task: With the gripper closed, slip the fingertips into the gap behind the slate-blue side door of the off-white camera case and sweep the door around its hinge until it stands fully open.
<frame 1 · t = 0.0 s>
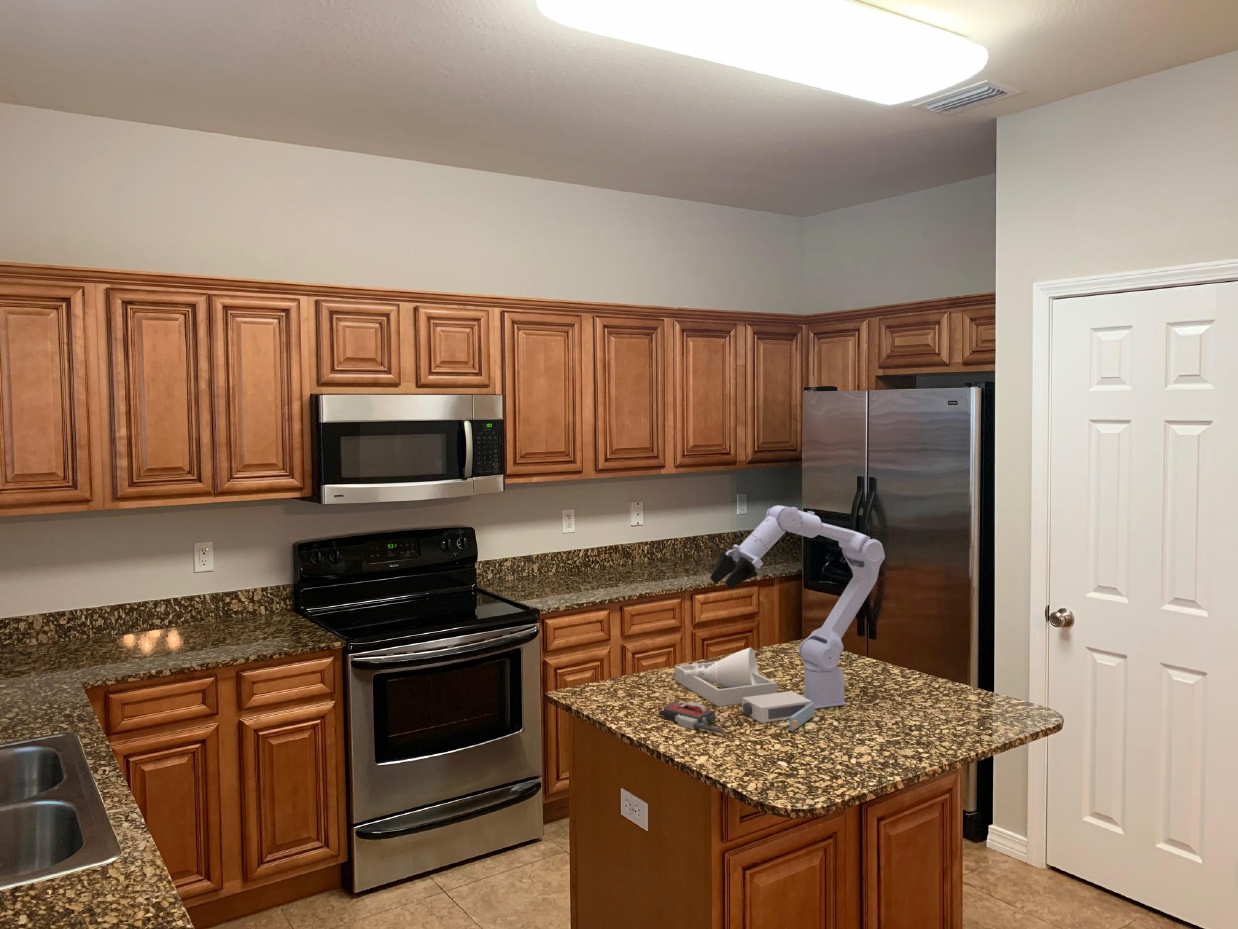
hand: (720, 583, 222), 32 cm above the countertop, tool tilted 50°, fingers open, 7 cm apart
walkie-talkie: (696, 725, 219), on the countertop
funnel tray: (724, 689, 247), on the countertop
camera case: (776, 713, 226), on the countertop
rocket engine: (723, 687, 247), point 1 cm above the countertop, touching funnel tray
side door: (803, 716, 218), point 2 cm above the countertop, hinge at 35.0°
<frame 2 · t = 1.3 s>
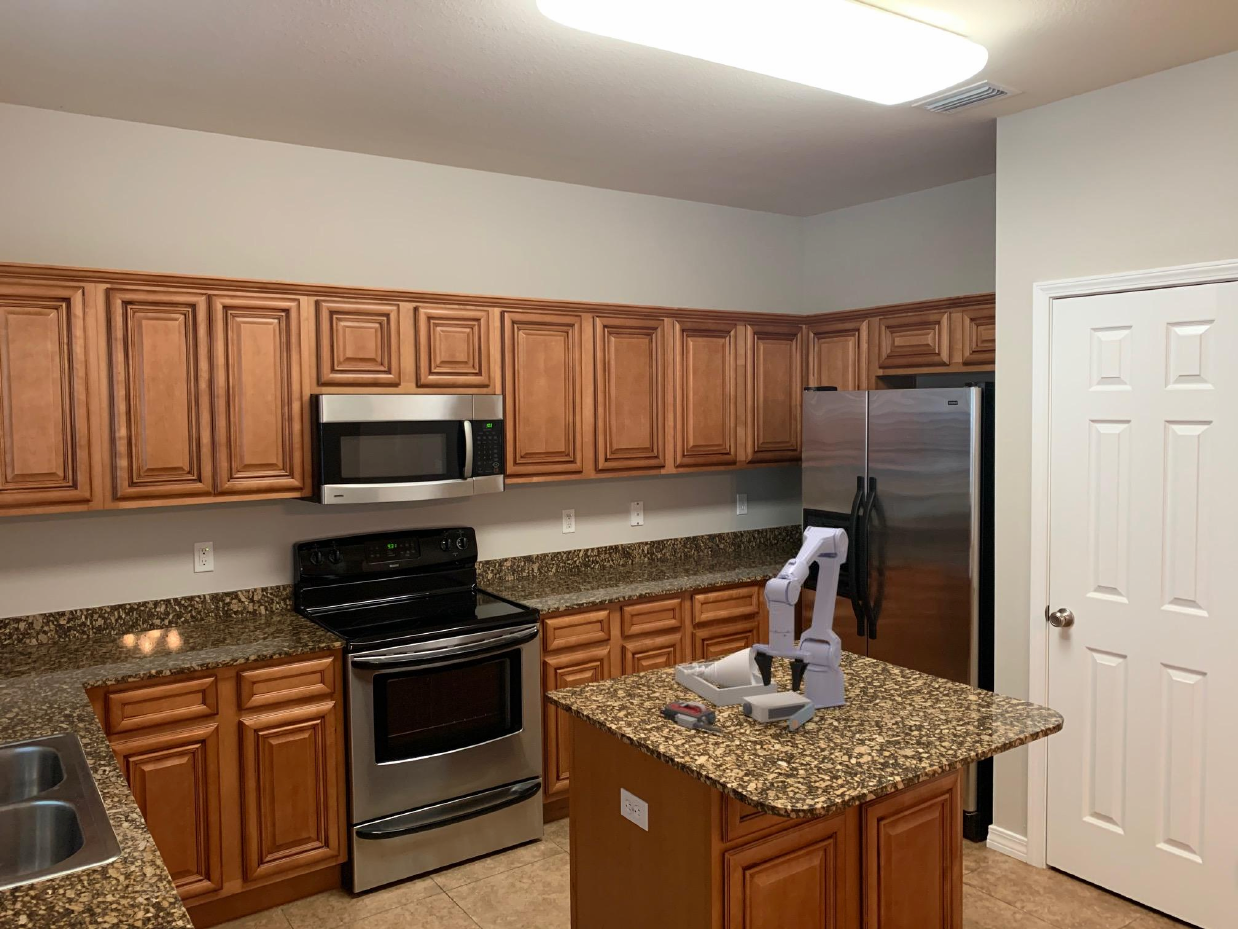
hand: (781, 688, 218), 9 cm above the countertop, tool pointing down, fingers open, 7 cm apart
nothing on the countertop moved.
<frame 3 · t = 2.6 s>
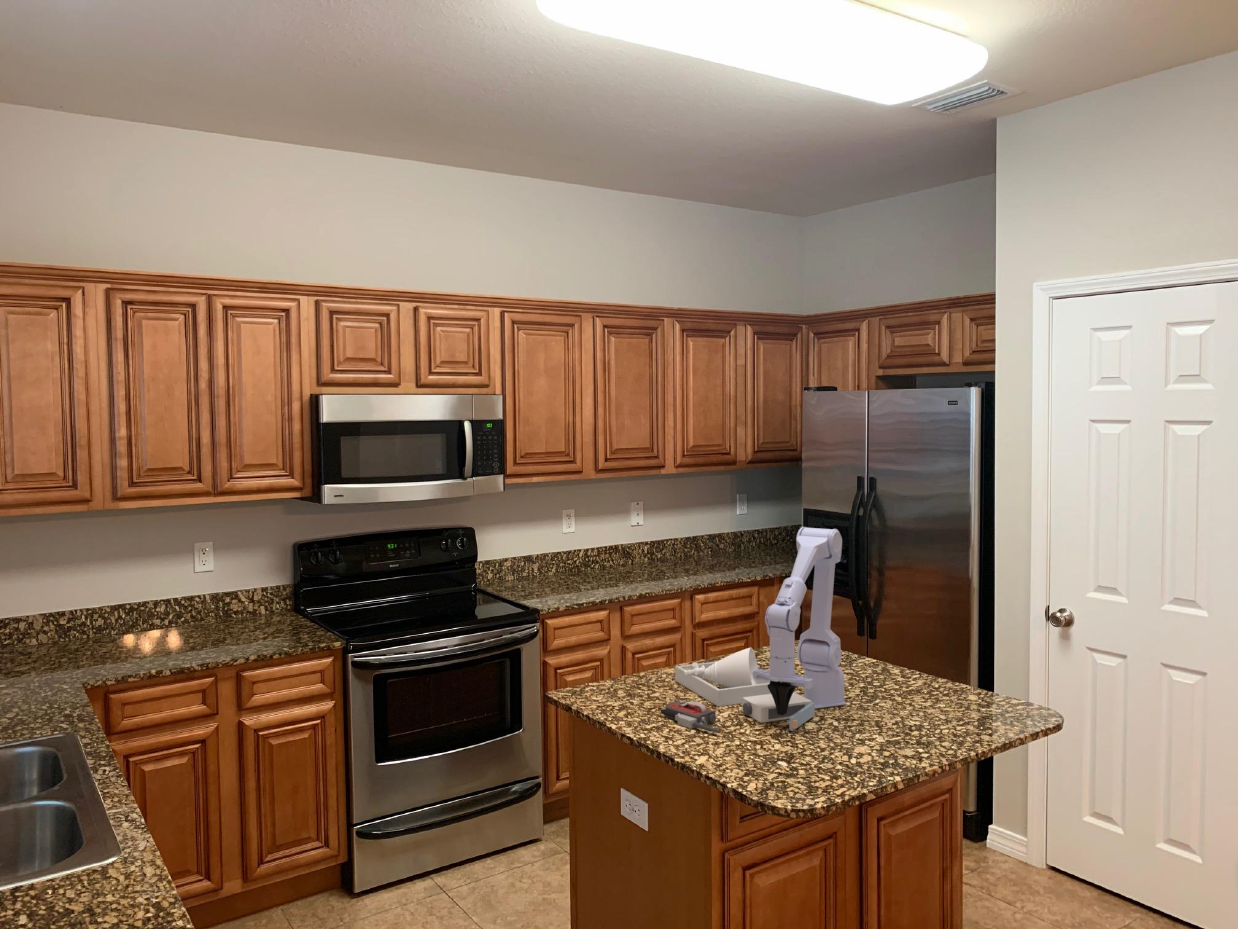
hand: (782, 713, 218), 3 cm above the countertop, tool pointing down, fingers closed
nothing on the countertop moved.
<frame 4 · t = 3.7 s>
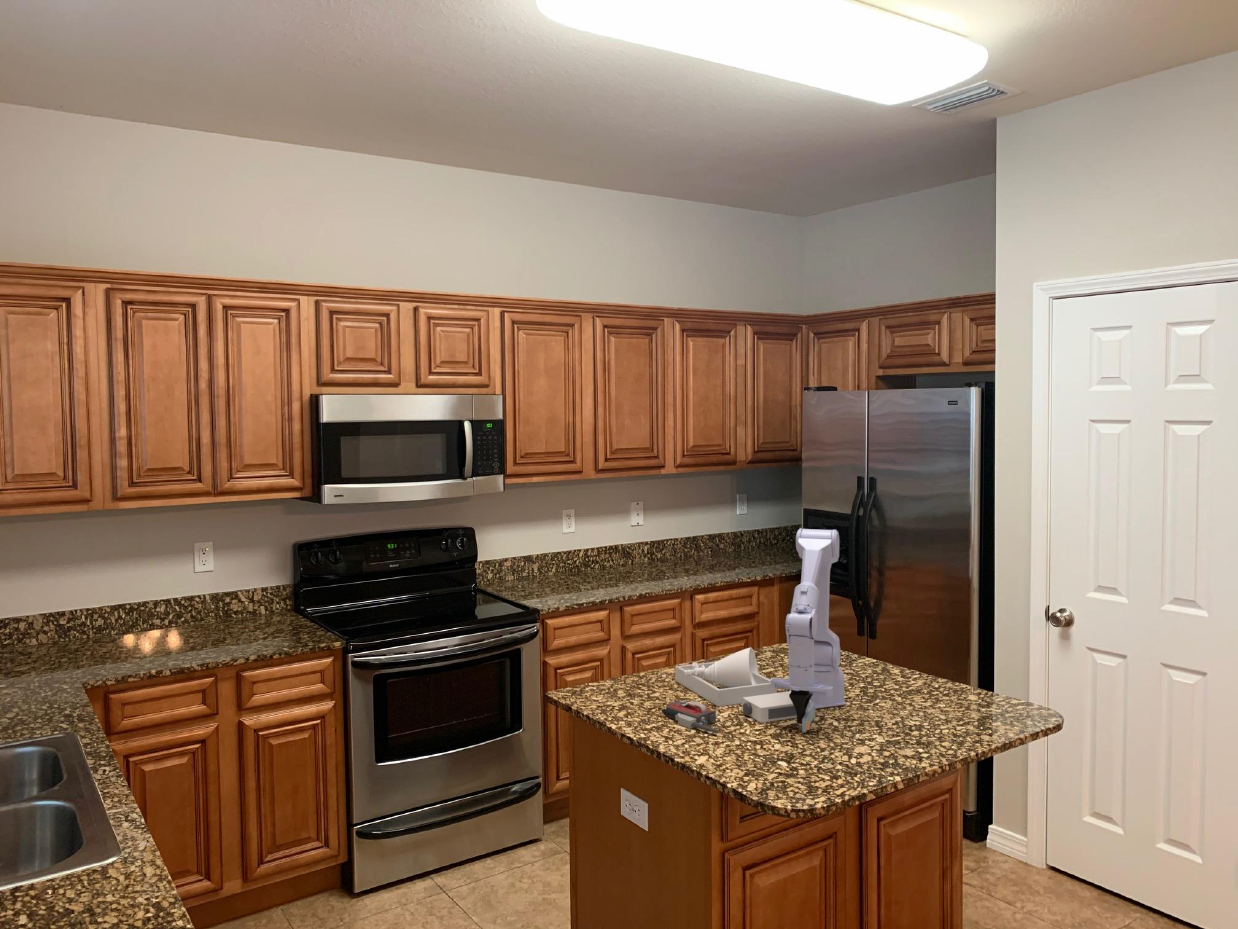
hand: (801, 722, 215), 1 cm above the countertop, tool pointing down, fingers closed, pressing on side door
side door: (810, 717, 217), point 2 cm above the countertop, hinge at 47.7°, touching gripper
everything else where it was.
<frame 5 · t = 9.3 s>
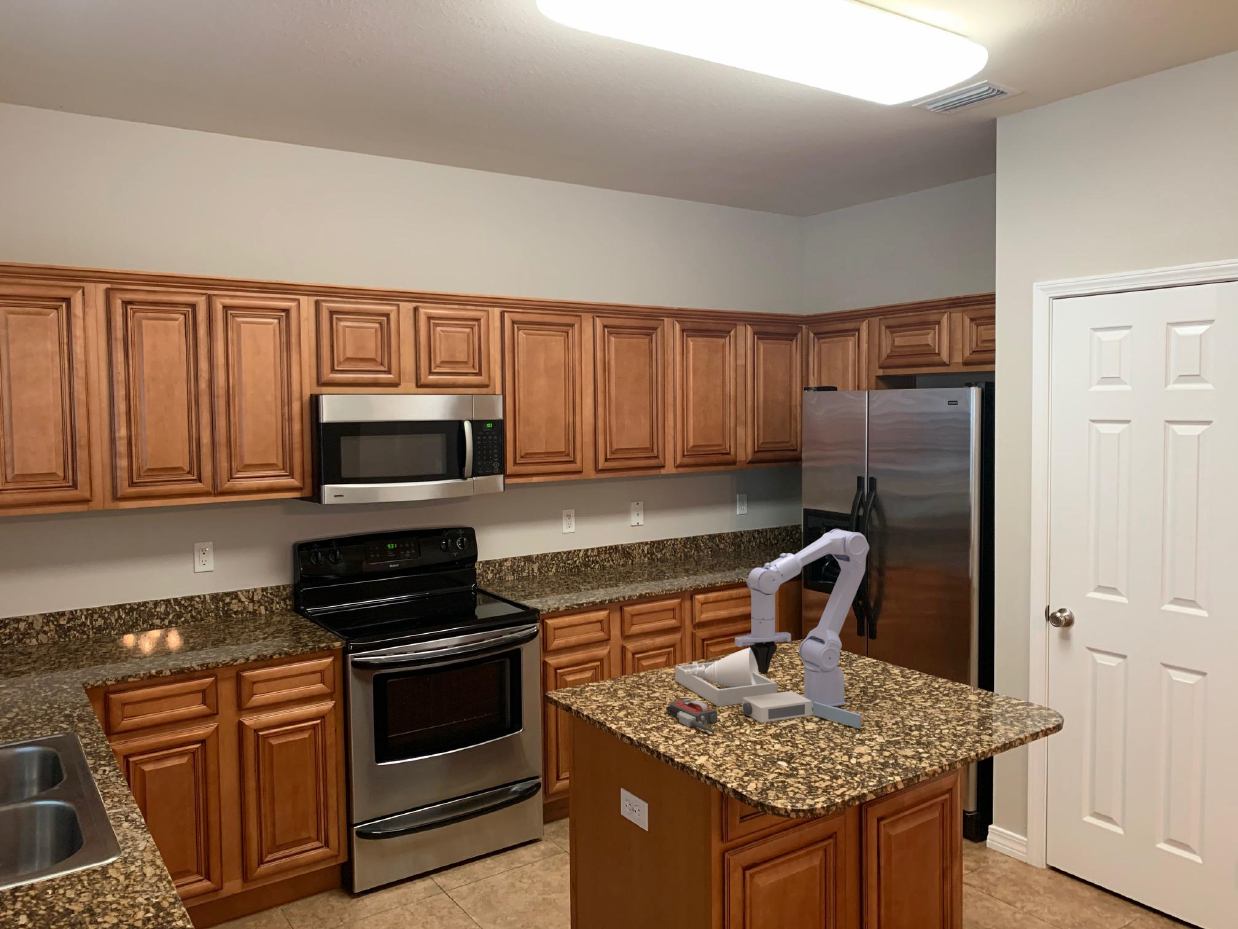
hand: (763, 673, 228), 9 cm above the countertop, tool pointing down, fingers closed
side door: (837, 714, 219), point 2 cm above the countertop, hinge at 108.3°
at the end: side door at +108° (first picture: +35°); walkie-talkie moved 1.6 cm from its start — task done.
